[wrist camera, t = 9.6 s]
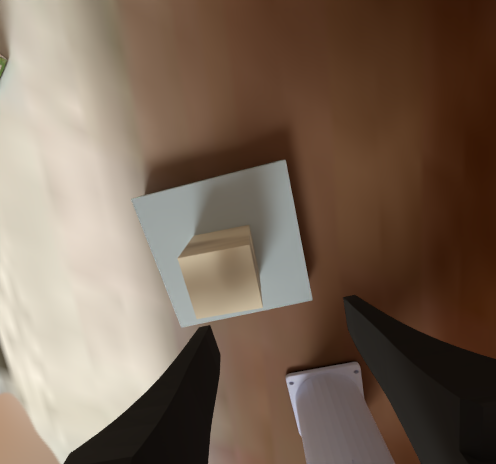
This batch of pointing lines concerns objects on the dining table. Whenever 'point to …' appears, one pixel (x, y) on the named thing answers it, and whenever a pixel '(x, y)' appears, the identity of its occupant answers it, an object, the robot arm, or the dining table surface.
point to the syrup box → (2, 63)
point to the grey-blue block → (225, 217)
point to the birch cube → (221, 272)
